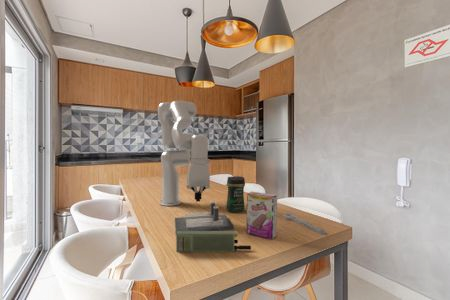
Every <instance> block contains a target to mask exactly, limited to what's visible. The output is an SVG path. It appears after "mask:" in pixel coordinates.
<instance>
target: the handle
mask: <svg viewBox="0 0 450 300" xmlns="http://www.w3.org/2000/svg"><path fill="white" fill-rule="evenodd" d="M219 209H220V207H219V206H218V205H215V206H214V219H213V221H215V220H219V215H220V214H219V211H220V210H219Z"/></svg>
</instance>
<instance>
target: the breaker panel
mask: <svg viewBox="0 0 450 300" xmlns="http://www.w3.org/2000/svg"><path fill="white" fill-rule="evenodd" d="M213 219H214V214H213V215H210V211H208V212H206V211H205V212H191V213H190V212H189V213H184V216H182V217H175V218H174V227H175V231H174V232H175V234H176V233H177V231H231V230H234V229H235V225H234V224H233V223H232V221H231V220H230V218H229V217H228V216H227V215H226V214H219V220H215V221H213Z"/></svg>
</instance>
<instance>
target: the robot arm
mask: <svg viewBox="0 0 450 300" xmlns="http://www.w3.org/2000/svg"><path fill="white" fill-rule="evenodd" d="M197 111H198V109H197V106H196V104H195V103H193V102H191V101H184V100H175V101H172V102H168V101H165V102H161V103H159V105H158V106H157V117H158V119H159V123H160V127H161V141H162V146H163V147H164V148H165V149H178V150H165V151H163V152H162V153H161V155H160V162H161V170H162V172H161V173H162V178H161V179H162V182H161V183H162V185H161V187H162V188H161V189H162V191H161V194H162V195H161V198H162V199H161V200H160V201H159V205H161V206H165V207H169V206H170V207H172V206H177V205H178V206H179V205H180V204H182V200H181V199H179V196H180V195H179V192H180V189H179V188H180V187H179V186H180V185H179V184H180V183H179V181H180V180H179V179H180V174H179V172H178V169H176V167H186V166H188V168H187V176H186V177H187V178H186V183H187V185H186V189H188V190H192V192H194V200H195V201H196V202H201V200H202V193H203V192H204V191H205V190H207V189H210V182H211V181H210V180H211V179H210V178H211V175H210V165H209V164H208V163H211V159H209V158H208V154H209V153H208V152H209V151H208V148H209V146H208V145H209V138H208V136H207V135H205V134H195V133H183V132H180V131H183V130H185V129H188V128H189V127H190V126H191V125H192V123H193V119H192V118H194V117H195V116H196V114H197ZM172 118H173V119H174V120H172ZM198 187H199V189H198Z"/></svg>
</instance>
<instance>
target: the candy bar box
mask: <svg viewBox="0 0 450 300" xmlns="http://www.w3.org/2000/svg"><path fill="white" fill-rule="evenodd" d="M277 215H278V195H277V194H272V193H264V192H259V191H250V192H248V193H247V194H246V225H245V226H246V230H245V231H246V234H248V235H252V236H256V237H260V238H263V239H268V240H273V239H274V238H275V237H277V223H278V222H277V221H278V220H277V218H278V217H277Z"/></svg>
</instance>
